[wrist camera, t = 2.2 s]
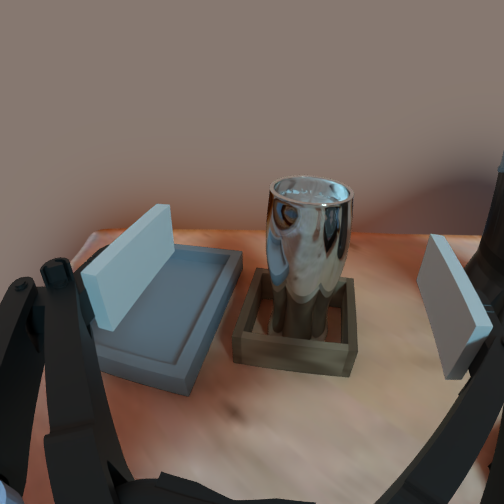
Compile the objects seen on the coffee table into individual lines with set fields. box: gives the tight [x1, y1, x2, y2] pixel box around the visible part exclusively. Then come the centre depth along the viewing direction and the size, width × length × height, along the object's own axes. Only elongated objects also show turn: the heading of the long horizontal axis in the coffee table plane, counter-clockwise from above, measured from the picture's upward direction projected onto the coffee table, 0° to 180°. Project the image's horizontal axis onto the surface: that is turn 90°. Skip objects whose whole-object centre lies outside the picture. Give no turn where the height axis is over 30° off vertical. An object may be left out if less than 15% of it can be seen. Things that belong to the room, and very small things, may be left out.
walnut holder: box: [232, 268, 358, 377], centre depth 31 cm, size 11×11×4 cm
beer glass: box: [266, 175, 354, 342], centre depth 28 cm, size 7×7×15 cm
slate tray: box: [90, 244, 243, 397], centre depth 34 cm, size 14×20×2 cm
